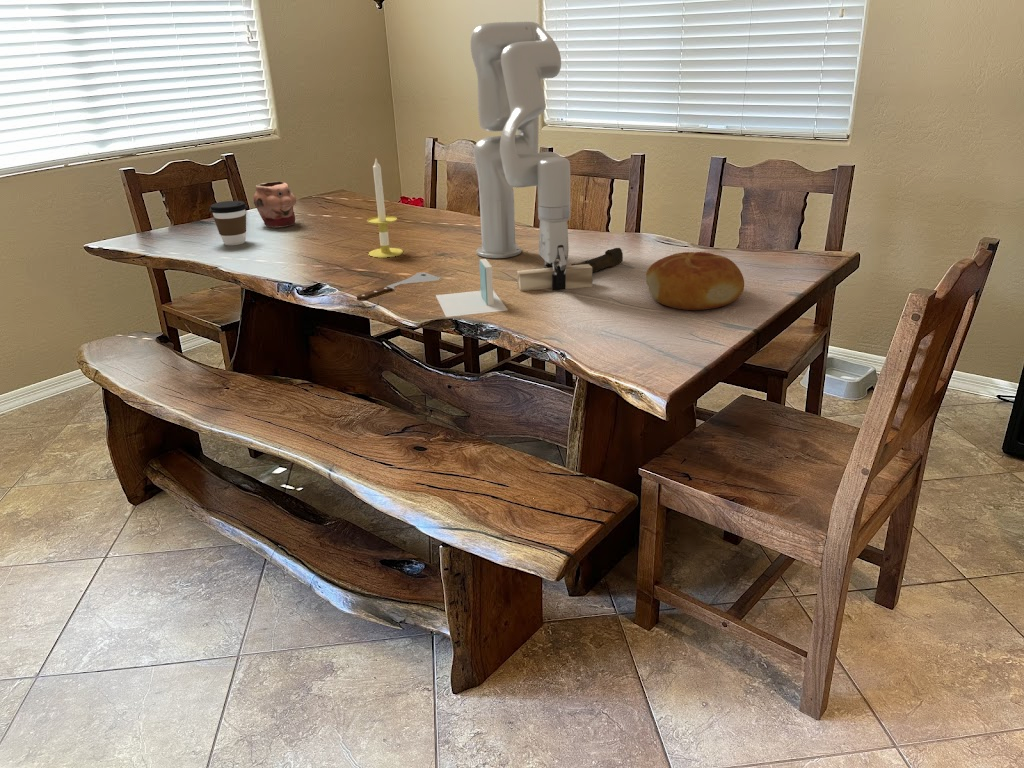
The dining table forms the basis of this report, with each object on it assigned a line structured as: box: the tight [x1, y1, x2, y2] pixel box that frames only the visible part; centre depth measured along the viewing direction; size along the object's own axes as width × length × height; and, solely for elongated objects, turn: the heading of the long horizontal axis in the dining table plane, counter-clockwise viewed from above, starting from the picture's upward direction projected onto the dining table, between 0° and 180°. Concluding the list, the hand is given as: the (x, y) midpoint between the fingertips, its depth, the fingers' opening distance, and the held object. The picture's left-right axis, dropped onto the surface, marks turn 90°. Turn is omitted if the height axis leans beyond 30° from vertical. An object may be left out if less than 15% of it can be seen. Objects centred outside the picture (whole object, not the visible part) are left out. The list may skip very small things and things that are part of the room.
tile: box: [478, 258, 494, 306], centre depth 179 cm, size 7×2×9 cm, turn 13°
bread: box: [645, 251, 745, 311], centre depth 179 cm, size 23×23×10 cm
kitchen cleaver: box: [356, 271, 441, 301], centre depth 194 cm, size 24×1×10 cm
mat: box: [435, 289, 509, 318], centre depth 181 cm, size 16×14×1 cm
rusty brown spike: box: [570, 247, 624, 273], centre depth 202 cm, size 19×4×5 cm, turn 131°
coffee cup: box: [209, 200, 248, 246], centre depth 239 cm, size 11×11×12 cm
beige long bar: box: [516, 264, 593, 292], centre depth 189 cm, size 3×18×5 cm, turn 103°
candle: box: [366, 158, 404, 259], centre depth 219 cm, size 10×10×27 cm
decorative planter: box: [253, 181, 297, 228], centre depth 260 cm, size 20×12×14 cm, turn 51°
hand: (554, 285), depth 190 cm, fingers open, 5 cm apart
